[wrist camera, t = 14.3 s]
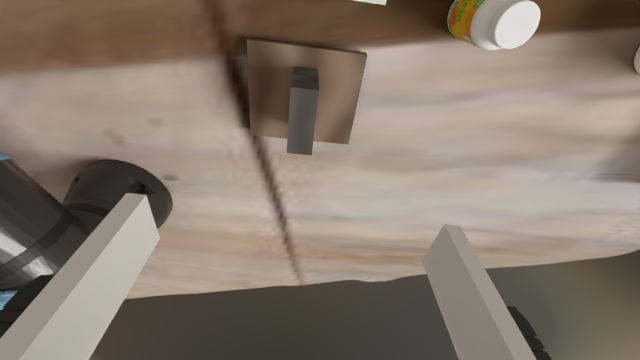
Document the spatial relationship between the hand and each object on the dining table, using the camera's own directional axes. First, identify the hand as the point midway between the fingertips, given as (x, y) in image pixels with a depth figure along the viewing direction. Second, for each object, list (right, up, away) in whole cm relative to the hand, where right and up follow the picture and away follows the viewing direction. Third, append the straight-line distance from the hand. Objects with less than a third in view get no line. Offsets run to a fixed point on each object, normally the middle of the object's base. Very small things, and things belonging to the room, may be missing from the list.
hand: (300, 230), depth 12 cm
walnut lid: (-1, +14, +25) cm, 29 cm away
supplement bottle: (+19, +23, +20) cm, 36 cm away
